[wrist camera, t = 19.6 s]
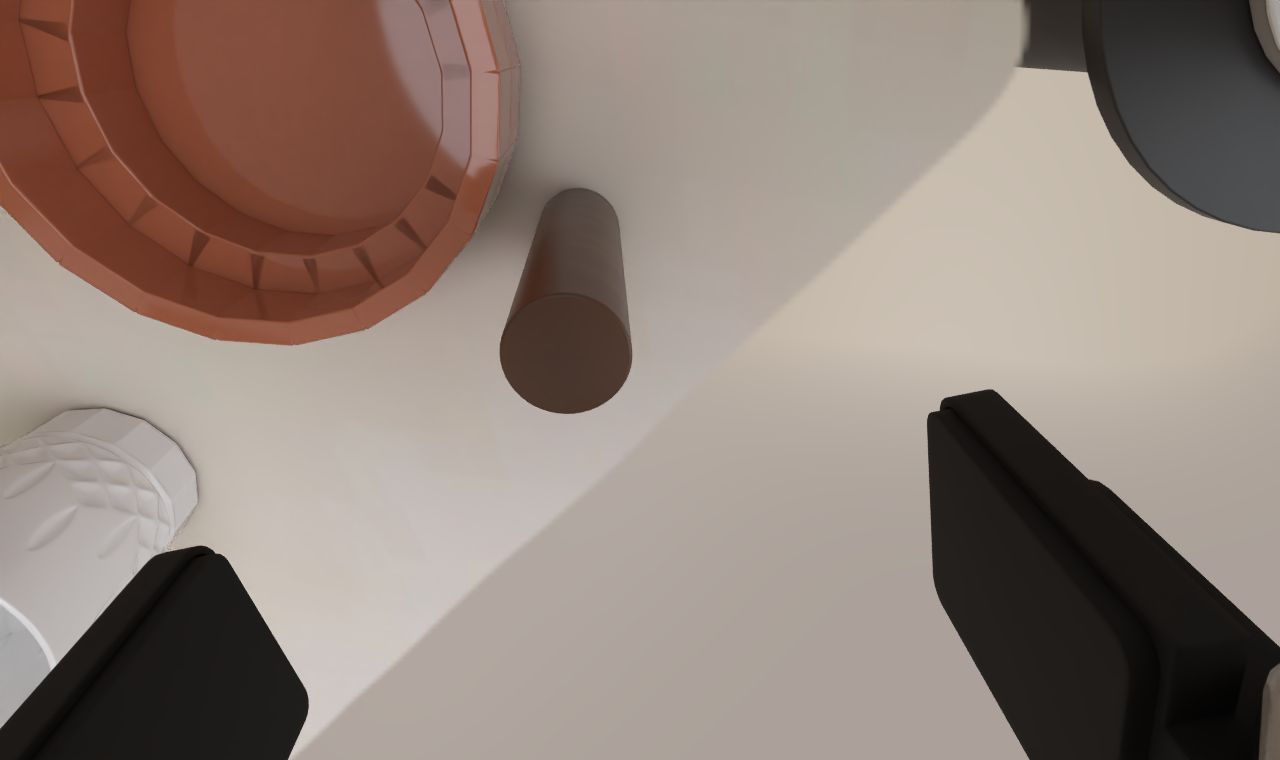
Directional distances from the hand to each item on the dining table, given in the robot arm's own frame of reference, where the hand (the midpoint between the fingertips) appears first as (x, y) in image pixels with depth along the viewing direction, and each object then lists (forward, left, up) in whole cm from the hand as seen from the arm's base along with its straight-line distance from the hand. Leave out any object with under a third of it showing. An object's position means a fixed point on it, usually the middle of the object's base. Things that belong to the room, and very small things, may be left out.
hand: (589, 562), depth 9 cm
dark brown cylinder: (+1, 0, -19) cm, 19 cm away
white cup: (+22, +6, -20) cm, 30 cm away
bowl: (+8, -7, -19) cm, 22 cm away
